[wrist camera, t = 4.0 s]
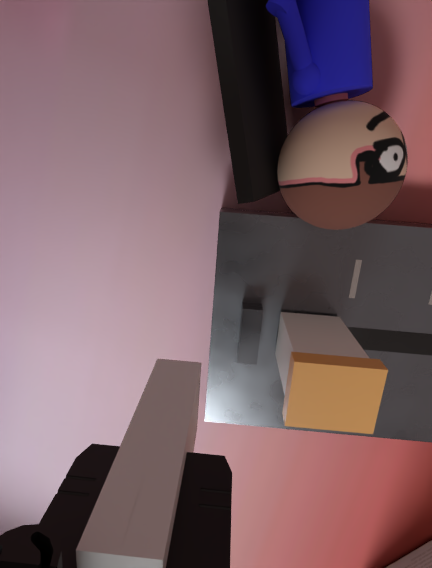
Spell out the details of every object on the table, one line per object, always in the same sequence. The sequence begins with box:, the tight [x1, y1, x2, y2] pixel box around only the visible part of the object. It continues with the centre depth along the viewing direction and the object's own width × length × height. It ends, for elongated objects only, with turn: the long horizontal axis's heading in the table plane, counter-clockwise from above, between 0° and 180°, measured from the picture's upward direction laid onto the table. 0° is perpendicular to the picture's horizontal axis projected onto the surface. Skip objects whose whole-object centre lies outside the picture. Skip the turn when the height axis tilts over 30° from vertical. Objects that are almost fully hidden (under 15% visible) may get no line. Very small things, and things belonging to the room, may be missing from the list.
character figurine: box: [208, 0, 408, 230], centre depth 14 cm, size 8×7×15 cm
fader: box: [275, 312, 388, 434], centre depth 16 cm, size 3×3×6 cm
